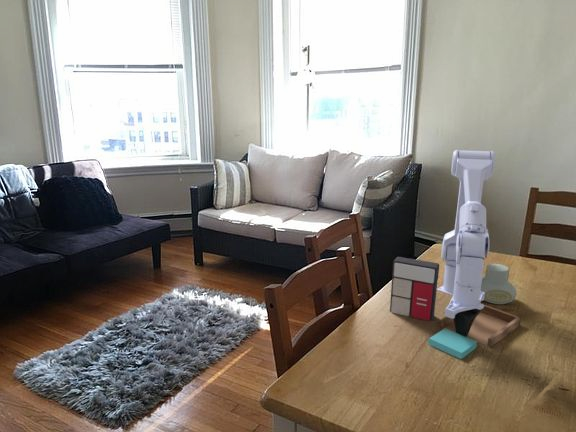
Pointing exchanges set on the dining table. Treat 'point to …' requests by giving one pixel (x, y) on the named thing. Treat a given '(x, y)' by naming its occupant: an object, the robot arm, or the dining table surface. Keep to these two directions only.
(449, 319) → the walnut box
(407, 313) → the calculator
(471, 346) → the cover plate
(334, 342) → the dining table surface
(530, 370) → the dining table surface
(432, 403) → the dining table surface
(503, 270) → the air freshener
